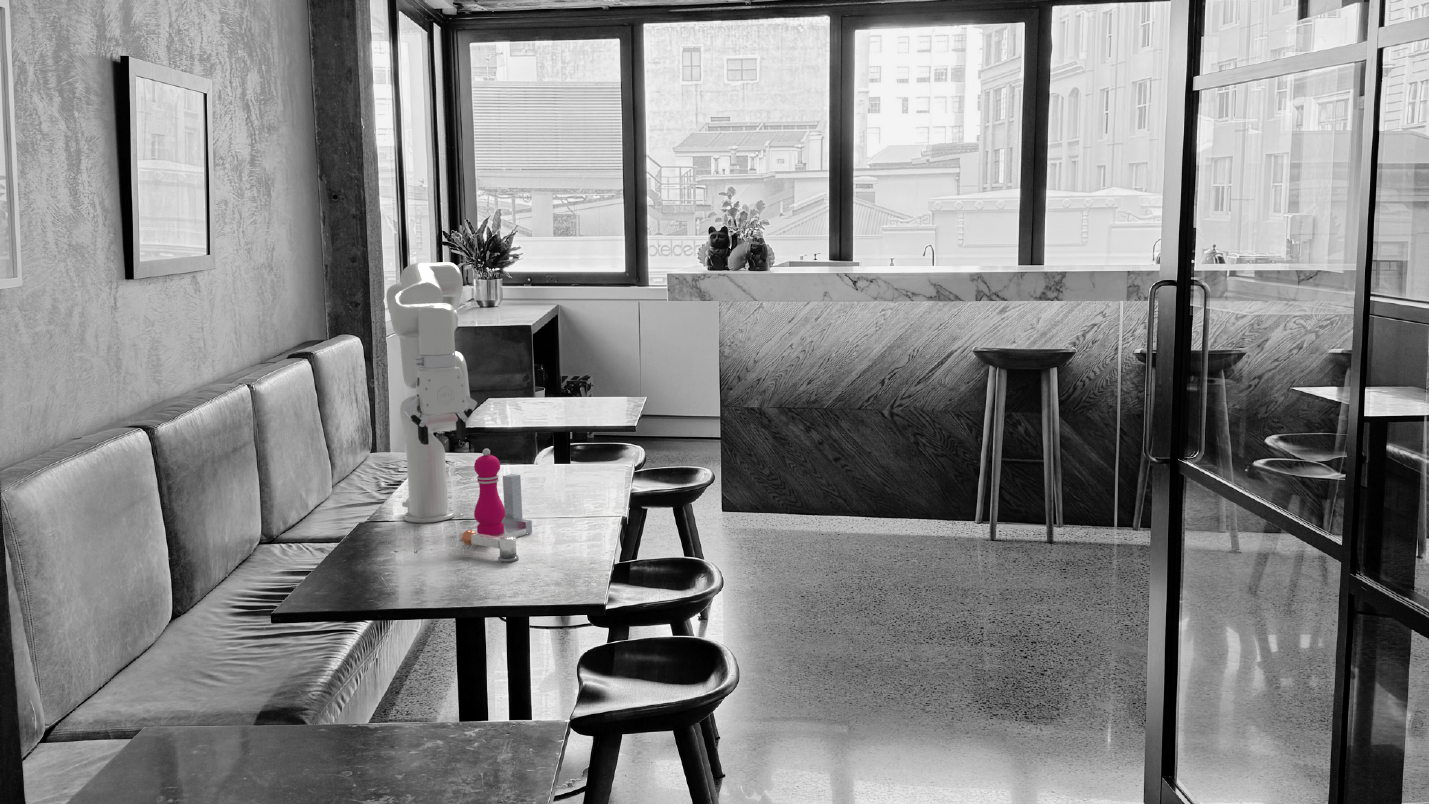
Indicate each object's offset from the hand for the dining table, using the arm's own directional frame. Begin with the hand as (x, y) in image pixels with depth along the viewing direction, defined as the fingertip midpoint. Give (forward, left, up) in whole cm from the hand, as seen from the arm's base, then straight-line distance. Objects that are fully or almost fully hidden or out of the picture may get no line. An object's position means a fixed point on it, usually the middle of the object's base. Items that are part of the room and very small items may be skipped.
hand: (442, 441), depth 258 cm
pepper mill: (-4, +16, -25) cm, 30 cm away
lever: (+8, +5, -25) cm, 27 cm away
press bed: (+3, +15, -26) cm, 30 cm away
